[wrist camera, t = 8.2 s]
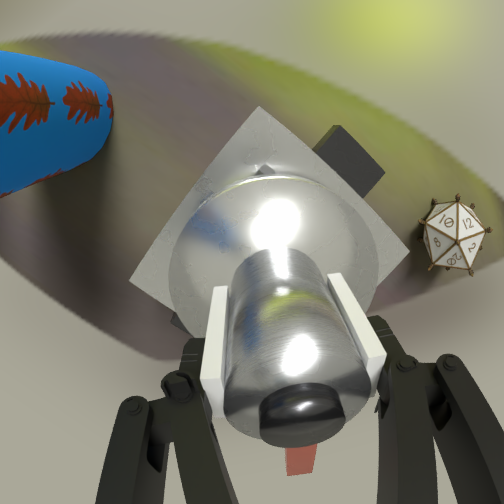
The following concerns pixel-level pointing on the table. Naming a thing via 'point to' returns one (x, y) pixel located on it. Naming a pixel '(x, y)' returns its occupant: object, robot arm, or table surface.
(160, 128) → the table surface
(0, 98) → the thermos
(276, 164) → the base
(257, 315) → the lid
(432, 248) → the game die
